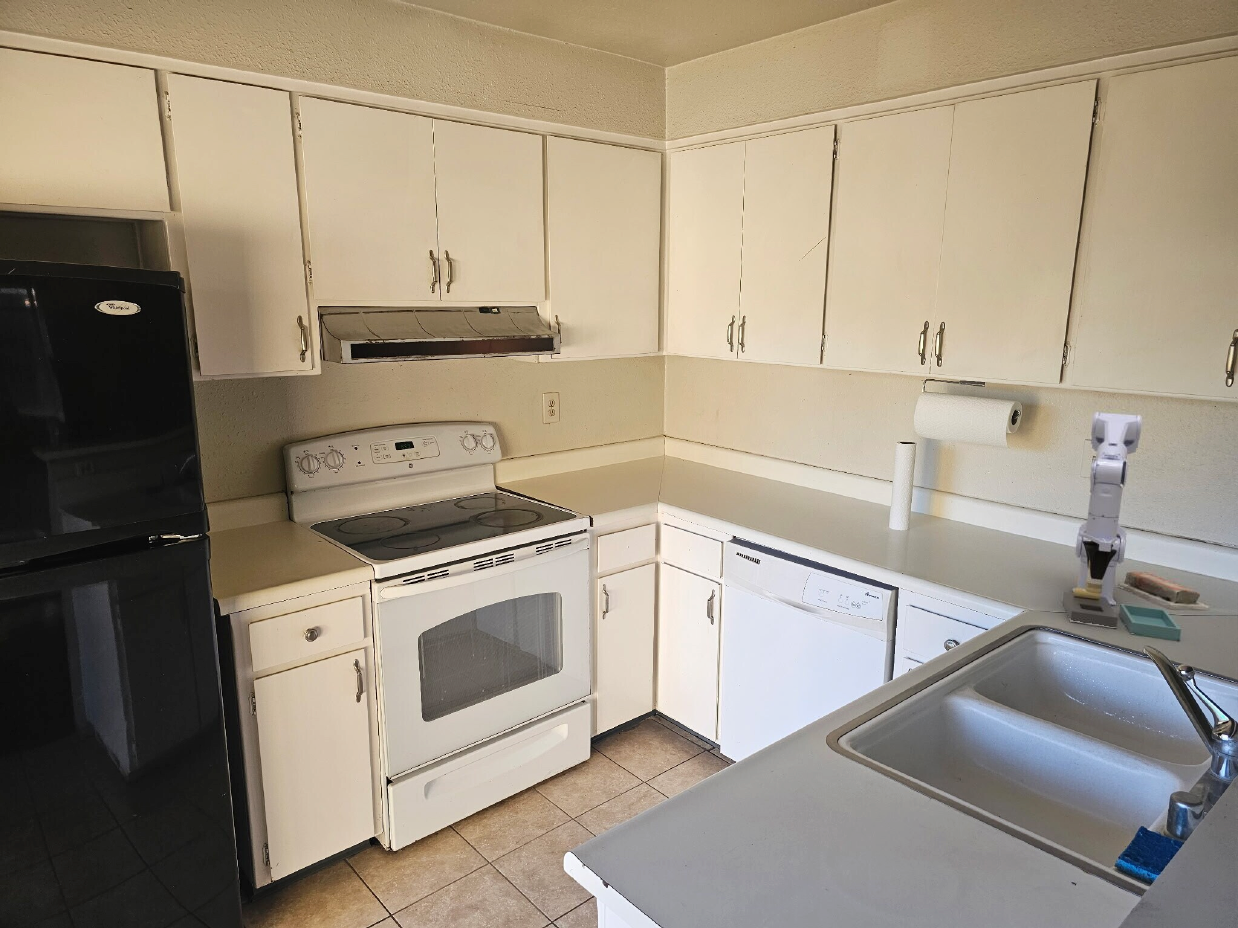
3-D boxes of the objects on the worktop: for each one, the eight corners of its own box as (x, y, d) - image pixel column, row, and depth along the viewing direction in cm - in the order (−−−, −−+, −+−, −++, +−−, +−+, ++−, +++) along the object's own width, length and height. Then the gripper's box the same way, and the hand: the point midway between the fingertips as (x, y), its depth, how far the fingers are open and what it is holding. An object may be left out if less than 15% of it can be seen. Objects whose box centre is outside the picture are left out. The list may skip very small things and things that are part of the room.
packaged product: (1118, 569, 202) (1155, 570, 203) (1115, 588, 203) (1152, 589, 204) (1172, 591, 185) (1213, 591, 186) (1169, 611, 185) (1210, 612, 186)
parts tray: (1118, 614, 180) (1120, 603, 180) (1163, 621, 177) (1165, 609, 176) (1130, 633, 167) (1132, 622, 167) (1179, 641, 164) (1181, 629, 164)
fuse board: (1062, 601, 188) (1064, 583, 187) (1104, 607, 184) (1107, 588, 184) (1070, 622, 173) (1073, 601, 172) (1116, 629, 170) (1119, 608, 169)
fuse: (1084, 588, 177) (1088, 557, 176) (1100, 590, 176) (1104, 559, 175) (1086, 592, 174) (1090, 560, 173) (1102, 594, 173) (1106, 562, 172)
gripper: (1077, 507, 181) (1070, 566, 183) (1086, 518, 168) (1078, 582, 170) (1114, 510, 178) (1106, 570, 180) (1126, 523, 165) (1117, 587, 167)
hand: (1095, 576), depth 175 cm, fingers closed on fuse, 3 cm apart
